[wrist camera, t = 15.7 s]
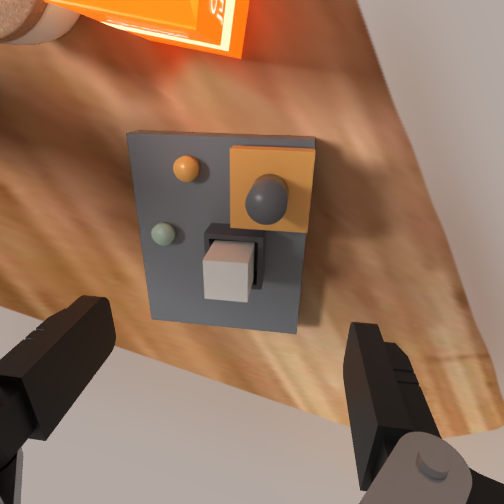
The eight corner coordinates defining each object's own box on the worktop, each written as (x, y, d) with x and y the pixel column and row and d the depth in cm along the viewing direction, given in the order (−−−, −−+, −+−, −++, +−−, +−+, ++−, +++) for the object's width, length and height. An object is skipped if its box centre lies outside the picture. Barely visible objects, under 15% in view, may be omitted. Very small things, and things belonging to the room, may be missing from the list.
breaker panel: (160, 305, 44) (141, 334, 38) (139, 130, 34) (109, 136, 29) (296, 318, 42) (296, 351, 36) (314, 136, 32) (316, 144, 27)
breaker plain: (215, 274, 34) (204, 298, 30) (214, 239, 33) (202, 259, 29) (253, 278, 34) (247, 302, 30) (254, 242, 32) (248, 263, 28)
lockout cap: (234, 220, 30) (221, 244, 25) (233, 145, 27) (219, 155, 22) (307, 225, 29) (308, 250, 24) (314, 148, 26) (317, 159, 22)
